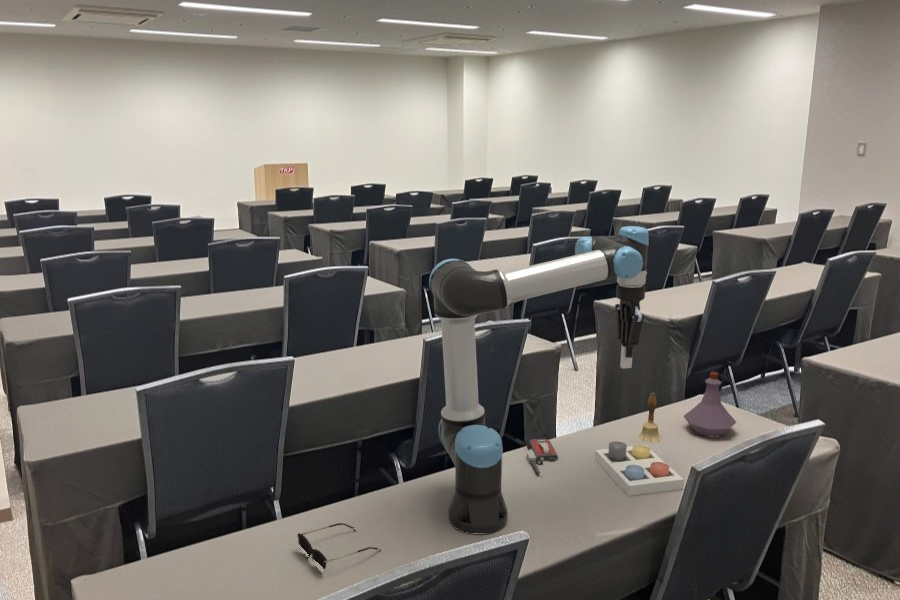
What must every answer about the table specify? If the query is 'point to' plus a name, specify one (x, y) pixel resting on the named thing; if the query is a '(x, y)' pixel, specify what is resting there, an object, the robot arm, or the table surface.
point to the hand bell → (650, 424)
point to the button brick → (659, 469)
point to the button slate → (634, 472)
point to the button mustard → (640, 452)
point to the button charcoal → (617, 451)
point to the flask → (710, 411)
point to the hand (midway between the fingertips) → (625, 367)
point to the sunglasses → (316, 553)
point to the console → (649, 481)
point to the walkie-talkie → (540, 452)
